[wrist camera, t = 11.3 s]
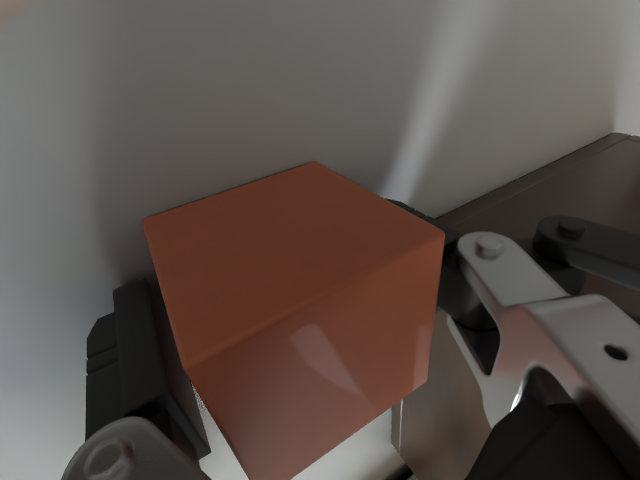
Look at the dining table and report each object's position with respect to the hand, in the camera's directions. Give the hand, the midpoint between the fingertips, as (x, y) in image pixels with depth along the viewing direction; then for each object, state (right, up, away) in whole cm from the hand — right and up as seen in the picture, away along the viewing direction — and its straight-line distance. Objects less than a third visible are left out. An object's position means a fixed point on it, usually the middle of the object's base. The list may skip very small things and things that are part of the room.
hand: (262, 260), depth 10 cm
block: (0, 0, 0) cm, 0 cm away
